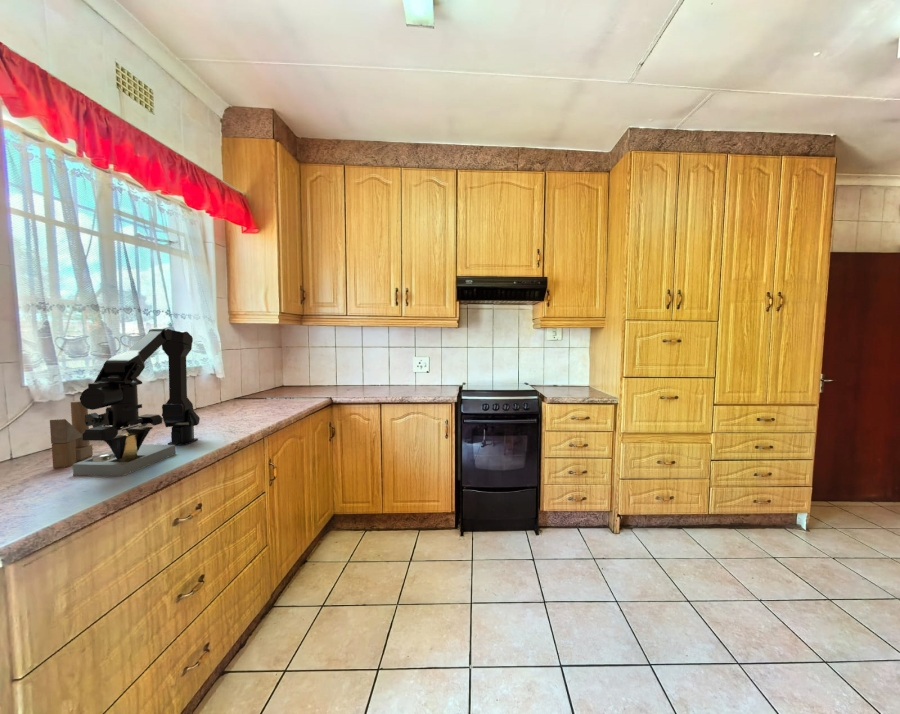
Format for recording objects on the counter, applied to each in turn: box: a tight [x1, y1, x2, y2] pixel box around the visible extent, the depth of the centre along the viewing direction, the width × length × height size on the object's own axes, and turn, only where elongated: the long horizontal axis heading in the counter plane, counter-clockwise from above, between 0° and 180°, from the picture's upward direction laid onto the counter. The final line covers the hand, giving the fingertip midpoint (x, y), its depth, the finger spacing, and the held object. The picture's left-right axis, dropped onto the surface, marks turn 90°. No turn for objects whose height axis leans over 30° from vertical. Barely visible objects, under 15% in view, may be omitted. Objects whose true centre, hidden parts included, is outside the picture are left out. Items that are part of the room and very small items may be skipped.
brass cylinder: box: [117, 432, 137, 462], centre depth 101 cm, size 4×4×8 cm
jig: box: [72, 443, 177, 477], centre depth 106 cm, size 18×14×3 cm
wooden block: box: [49, 399, 94, 469], centre depth 107 cm, size 4×11×18 cm, turn 17°
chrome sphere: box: [91, 452, 114, 462], centre depth 102 cm, size 4×4×4 cm
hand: (127, 455), depth 101 cm, fingers closed on brass cylinder, 4 cm apart
